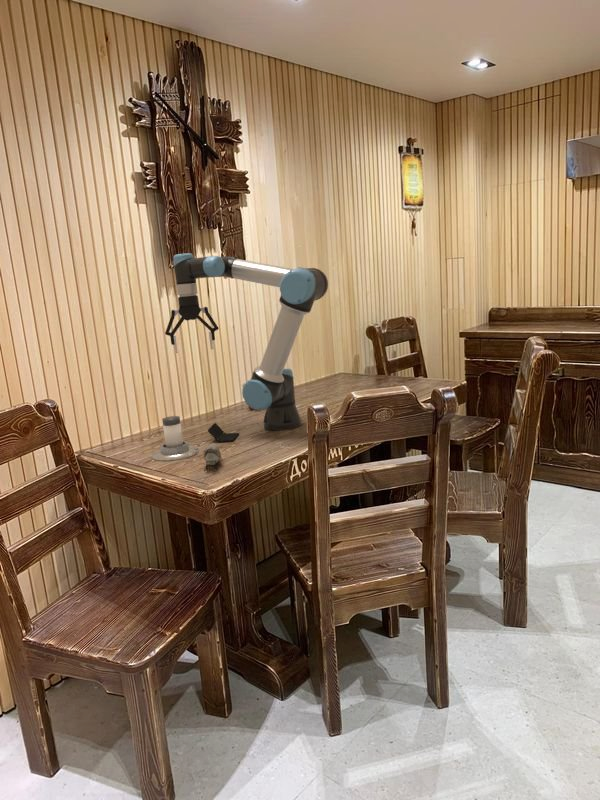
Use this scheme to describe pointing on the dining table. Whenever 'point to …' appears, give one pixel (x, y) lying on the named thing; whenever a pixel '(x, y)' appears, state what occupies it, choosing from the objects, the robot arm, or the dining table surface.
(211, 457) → the decorative bird
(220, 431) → the handheld gaming console
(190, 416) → the dining table surface
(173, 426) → the lens
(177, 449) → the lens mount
